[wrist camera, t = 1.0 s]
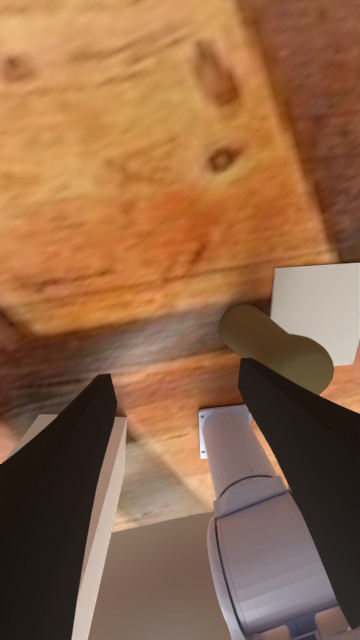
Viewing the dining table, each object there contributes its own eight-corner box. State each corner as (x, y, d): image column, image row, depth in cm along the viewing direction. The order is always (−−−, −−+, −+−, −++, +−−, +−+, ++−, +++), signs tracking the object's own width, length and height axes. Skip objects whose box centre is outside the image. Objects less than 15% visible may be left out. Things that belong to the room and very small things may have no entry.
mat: (350, 363, 26) (352, 364, 25) (264, 372, 25) (265, 373, 25) (377, 261, 21) (380, 261, 21) (274, 268, 21) (275, 268, 20)
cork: (262, 298, 22) (355, 330, 11) (266, 342, 23) (349, 405, 13) (214, 310, 22) (262, 354, 11) (222, 353, 23) (269, 425, 13)
